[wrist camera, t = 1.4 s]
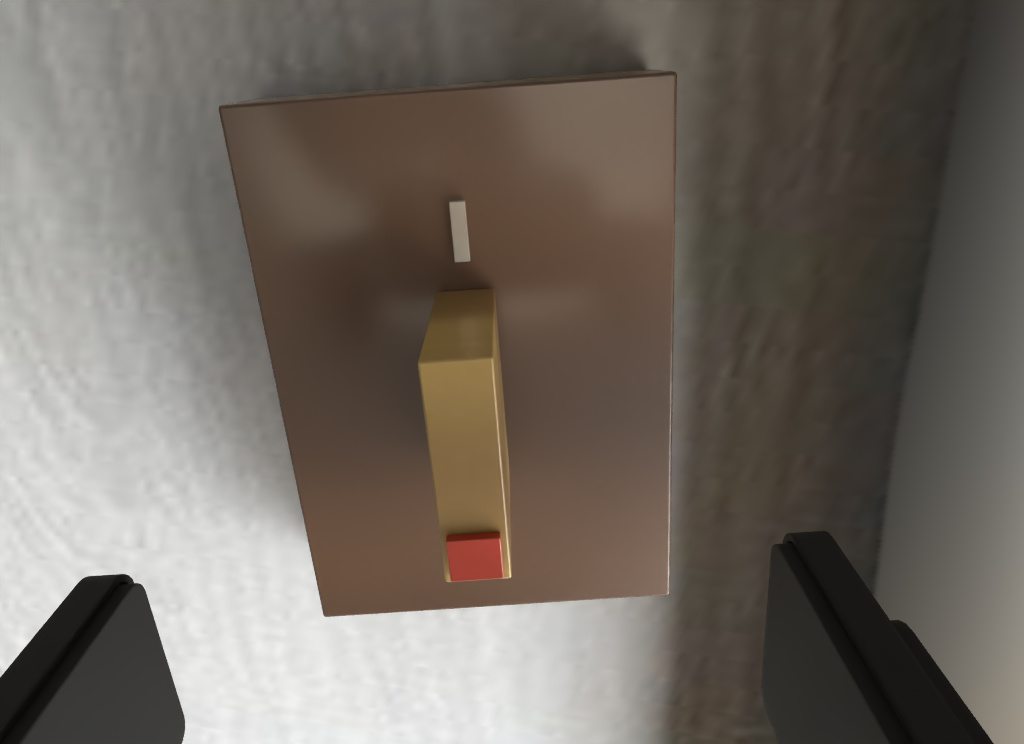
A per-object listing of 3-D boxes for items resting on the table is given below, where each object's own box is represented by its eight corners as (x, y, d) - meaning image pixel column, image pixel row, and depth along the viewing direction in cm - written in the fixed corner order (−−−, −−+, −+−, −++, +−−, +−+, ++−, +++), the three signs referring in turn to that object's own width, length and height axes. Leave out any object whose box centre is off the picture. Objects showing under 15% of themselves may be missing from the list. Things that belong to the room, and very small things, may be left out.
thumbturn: (436, 291, 18) (416, 367, 14) (494, 287, 18) (493, 361, 14) (456, 473, 20) (444, 591, 16) (509, 469, 20) (512, 586, 16)
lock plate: (257, 98, 19) (213, 105, 16) (651, 69, 19) (679, 71, 16) (343, 554, 25) (322, 621, 22) (650, 534, 24) (671, 599, 21)
